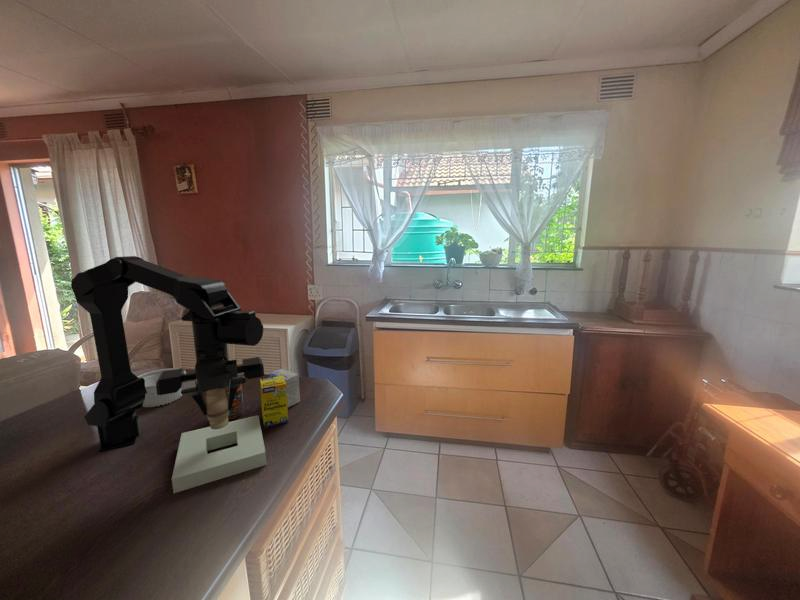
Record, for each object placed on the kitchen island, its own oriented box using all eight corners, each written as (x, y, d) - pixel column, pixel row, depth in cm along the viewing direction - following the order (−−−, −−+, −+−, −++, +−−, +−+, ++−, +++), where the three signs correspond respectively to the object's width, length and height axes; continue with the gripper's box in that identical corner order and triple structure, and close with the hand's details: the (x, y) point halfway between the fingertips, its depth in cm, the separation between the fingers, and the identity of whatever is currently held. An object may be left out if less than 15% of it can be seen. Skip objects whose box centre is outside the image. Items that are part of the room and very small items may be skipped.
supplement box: (264, 428, 78) (260, 388, 76) (262, 417, 83) (259, 378, 81) (288, 422, 81) (286, 383, 79) (285, 411, 86) (283, 374, 84)
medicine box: (300, 401, 92) (299, 374, 90) (287, 408, 88) (286, 379, 86) (283, 394, 96) (281, 368, 94) (270, 400, 92) (268, 373, 91)
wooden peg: (207, 432, 65) (202, 387, 63) (208, 422, 68) (203, 379, 66) (230, 427, 67) (226, 383, 65) (230, 417, 70) (226, 375, 68)
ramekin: (178, 384, 102) (175, 364, 101) (196, 396, 94) (193, 374, 93) (126, 401, 91) (122, 378, 90) (141, 415, 84) (137, 391, 83)
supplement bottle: (225, 424, 80) (221, 382, 78) (214, 416, 84) (210, 376, 82) (248, 414, 85) (244, 375, 83) (237, 407, 88) (233, 369, 86)
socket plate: (173, 493, 58) (171, 479, 58) (183, 445, 72) (181, 433, 71) (266, 464, 66) (265, 452, 65) (259, 425, 79) (258, 415, 79)
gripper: (144, 363, 53) (156, 446, 56) (264, 346, 62) (269, 418, 64) (156, 344, 62) (166, 415, 65) (259, 332, 71) (263, 395, 74)
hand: (218, 411), depth 67 cm, fingers closed on wooden peg, 4 cm apart
